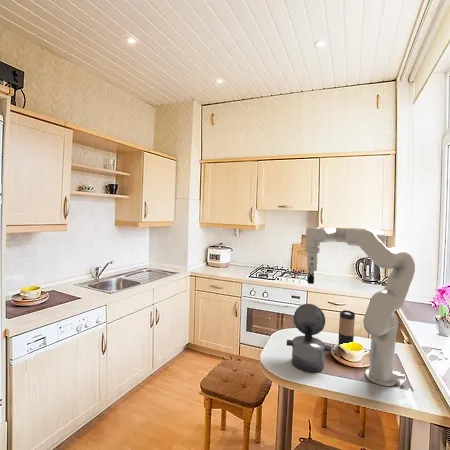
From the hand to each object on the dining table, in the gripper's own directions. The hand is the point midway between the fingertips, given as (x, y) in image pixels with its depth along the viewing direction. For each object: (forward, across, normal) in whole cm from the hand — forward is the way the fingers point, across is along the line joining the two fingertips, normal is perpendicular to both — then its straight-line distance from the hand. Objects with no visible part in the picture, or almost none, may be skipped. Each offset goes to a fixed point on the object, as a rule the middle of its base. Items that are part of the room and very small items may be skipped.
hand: (310, 281), depth 164 cm
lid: (+17, -13, 0) cm, 21 cm away
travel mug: (+36, +2, -20) cm, 41 cm away
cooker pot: (+36, -22, 0) cm, 42 cm away
